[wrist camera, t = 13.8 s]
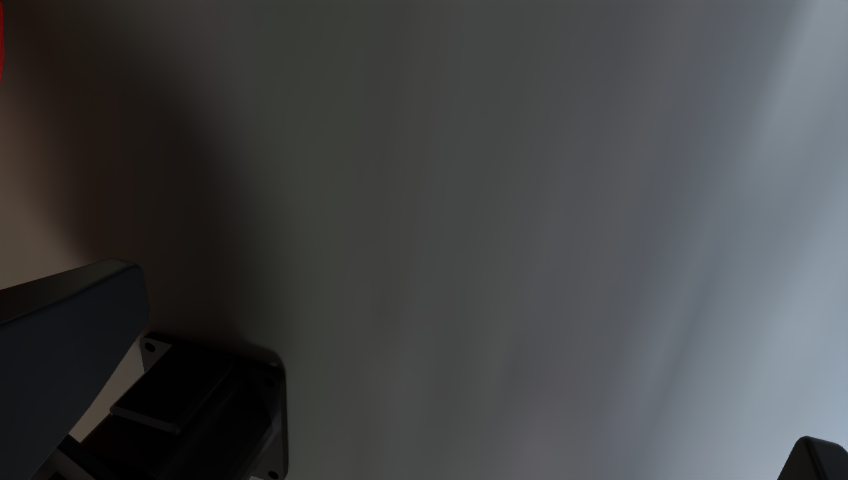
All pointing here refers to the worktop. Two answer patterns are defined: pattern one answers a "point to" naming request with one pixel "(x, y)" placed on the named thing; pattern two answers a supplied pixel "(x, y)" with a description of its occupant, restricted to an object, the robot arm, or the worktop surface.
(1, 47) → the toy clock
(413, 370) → the worktop surface
